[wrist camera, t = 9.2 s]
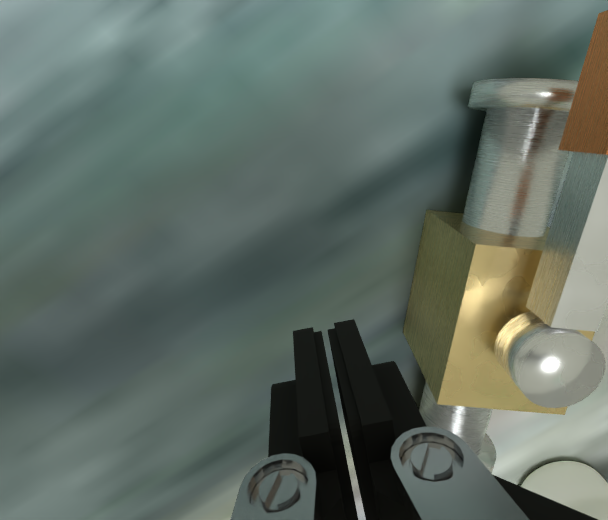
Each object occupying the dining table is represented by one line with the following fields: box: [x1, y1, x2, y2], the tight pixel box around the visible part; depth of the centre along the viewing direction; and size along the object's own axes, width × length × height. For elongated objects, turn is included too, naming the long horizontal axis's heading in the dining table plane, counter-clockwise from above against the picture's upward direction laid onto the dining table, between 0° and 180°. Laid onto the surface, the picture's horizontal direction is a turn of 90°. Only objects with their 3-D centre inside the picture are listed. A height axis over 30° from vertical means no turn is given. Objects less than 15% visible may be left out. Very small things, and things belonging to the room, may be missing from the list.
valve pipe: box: [403, 78, 595, 473], centre depth 24 cm, size 7×24×9 cm, turn 175°
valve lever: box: [494, 10, 608, 408], centre depth 16 cm, size 16×4×3 cm, turn 174°
